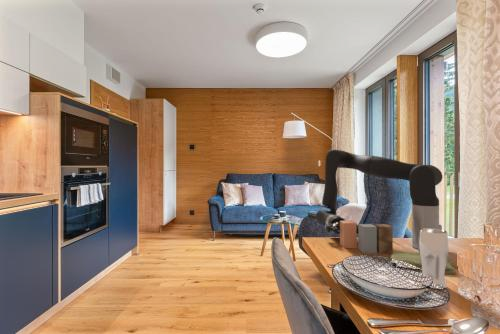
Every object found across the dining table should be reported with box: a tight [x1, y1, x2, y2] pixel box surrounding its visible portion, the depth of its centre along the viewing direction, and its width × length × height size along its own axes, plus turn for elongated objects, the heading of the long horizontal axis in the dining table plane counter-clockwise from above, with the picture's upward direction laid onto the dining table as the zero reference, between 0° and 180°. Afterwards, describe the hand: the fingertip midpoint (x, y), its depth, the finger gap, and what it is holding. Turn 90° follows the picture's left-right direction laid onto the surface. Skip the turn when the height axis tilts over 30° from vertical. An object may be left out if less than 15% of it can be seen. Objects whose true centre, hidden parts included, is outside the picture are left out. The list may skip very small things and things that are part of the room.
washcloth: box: [390, 251, 456, 275], centre depth 93 cm, size 13×18×3 cm
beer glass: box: [418, 228, 449, 288], centre depth 77 cm, size 7×7×15 cm
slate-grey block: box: [357, 223, 378, 254], centre depth 108 cm, size 5×5×10 cm
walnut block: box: [372, 223, 394, 254], centre depth 108 cm, size 5×5×10 cm
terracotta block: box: [339, 220, 357, 249], centre depth 115 cm, size 5×5×10 cm
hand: (347, 231), depth 115 cm, fingers open, 8 cm apart
